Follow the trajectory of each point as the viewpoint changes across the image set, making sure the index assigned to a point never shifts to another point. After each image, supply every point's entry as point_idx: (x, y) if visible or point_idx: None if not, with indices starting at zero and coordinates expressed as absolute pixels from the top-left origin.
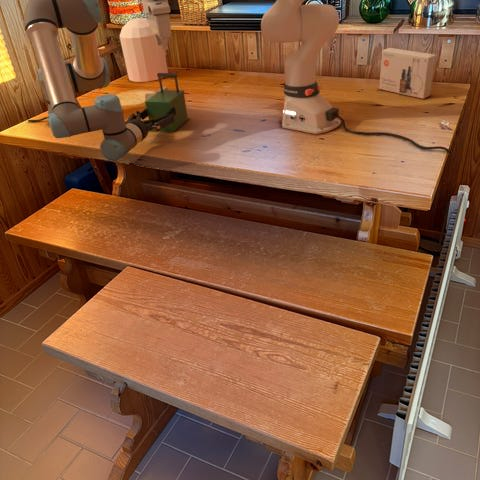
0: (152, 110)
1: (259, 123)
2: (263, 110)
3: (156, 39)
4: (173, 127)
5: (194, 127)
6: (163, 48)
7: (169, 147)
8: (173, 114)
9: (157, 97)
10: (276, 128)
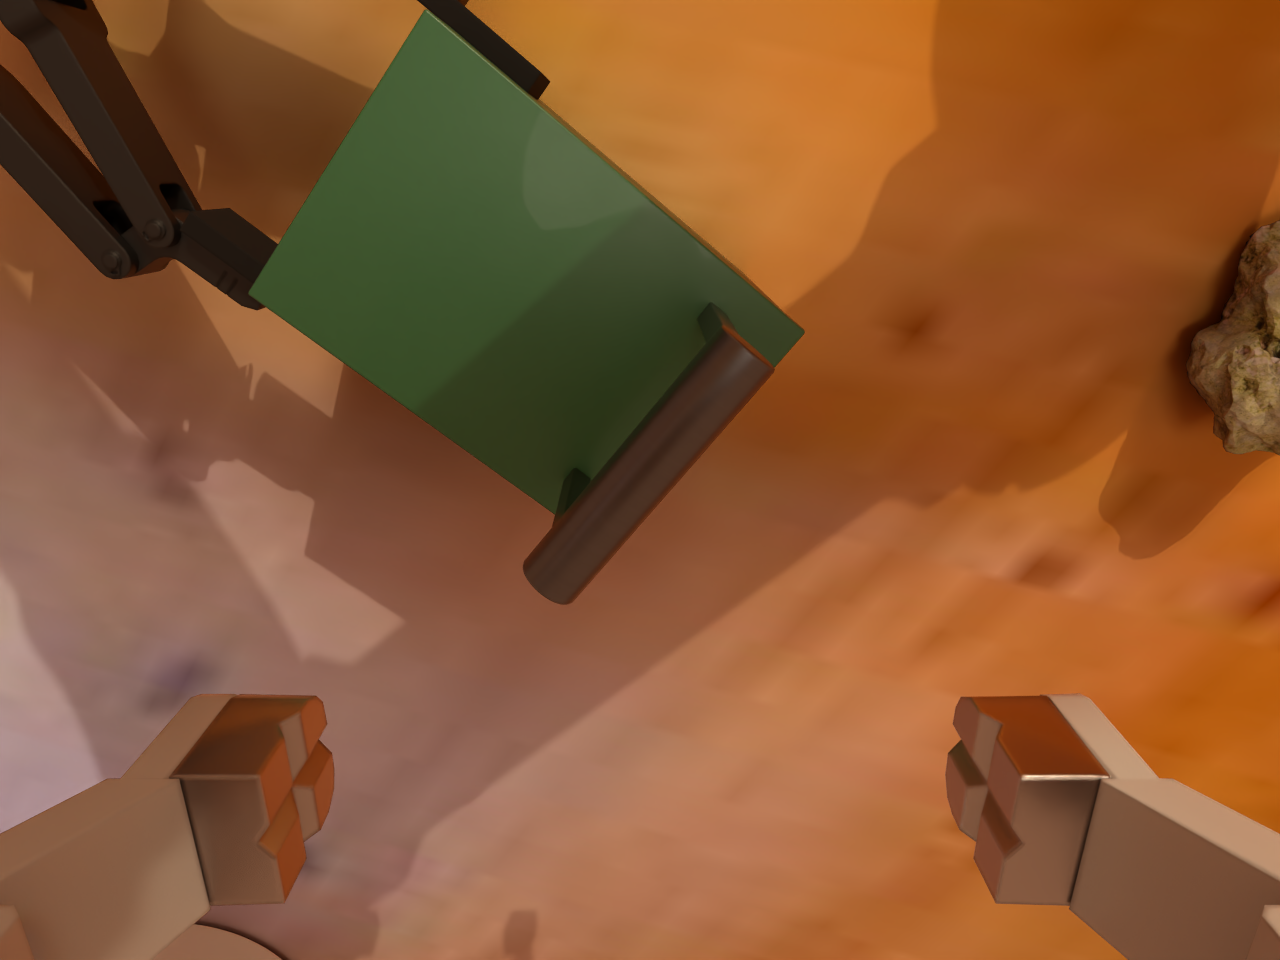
0: None
1: None
2: (486, 916)
3: (1129, 796)
4: None
5: (389, 439)
6: (173, 720)
7: None
8: (238, 296)
9: (514, 210)
10: None
